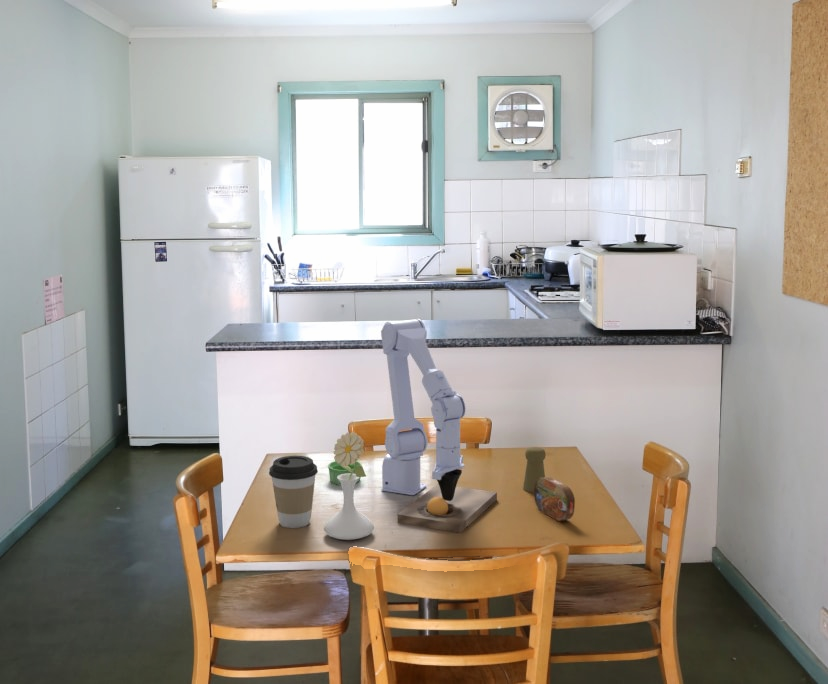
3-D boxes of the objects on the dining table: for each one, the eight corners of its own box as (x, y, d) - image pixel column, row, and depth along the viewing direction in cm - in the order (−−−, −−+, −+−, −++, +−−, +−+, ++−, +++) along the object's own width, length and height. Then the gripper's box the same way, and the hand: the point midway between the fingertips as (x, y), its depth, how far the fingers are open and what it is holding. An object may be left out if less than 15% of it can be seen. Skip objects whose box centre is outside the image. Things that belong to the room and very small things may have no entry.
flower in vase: (316, 531, 228) (313, 426, 224) (360, 522, 234) (359, 419, 229) (340, 550, 217) (338, 440, 213) (386, 540, 223) (385, 433, 218)
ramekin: (365, 476, 268) (365, 460, 267) (357, 487, 259) (357, 470, 258) (333, 474, 269) (332, 458, 269) (324, 485, 261) (324, 469, 260)
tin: (532, 505, 245) (533, 473, 243) (543, 504, 246) (544, 471, 244) (565, 526, 231) (565, 491, 230) (576, 524, 232) (577, 490, 231)
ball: (423, 497, 238) (434, 509, 241) (422, 512, 234) (433, 525, 237) (441, 489, 236) (451, 502, 239) (441, 505, 232) (452, 518, 235)
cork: (545, 493, 253) (546, 451, 251) (521, 491, 255) (522, 450, 253) (547, 485, 259) (548, 445, 257) (524, 484, 260) (524, 443, 258)
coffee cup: (274, 513, 240) (272, 453, 237) (321, 514, 239) (320, 454, 237) (266, 531, 229) (264, 468, 226) (315, 531, 228) (314, 469, 225)
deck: (397, 522, 234) (397, 514, 234) (438, 491, 255) (438, 483, 255) (460, 532, 227) (460, 524, 227) (496, 499, 249) (496, 492, 248)
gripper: (451, 455, 230) (451, 511, 232) (474, 439, 243) (474, 492, 245) (424, 452, 233) (424, 507, 235) (448, 436, 245) (447, 488, 248)
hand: (447, 499), depth 240 cm, fingers closed
